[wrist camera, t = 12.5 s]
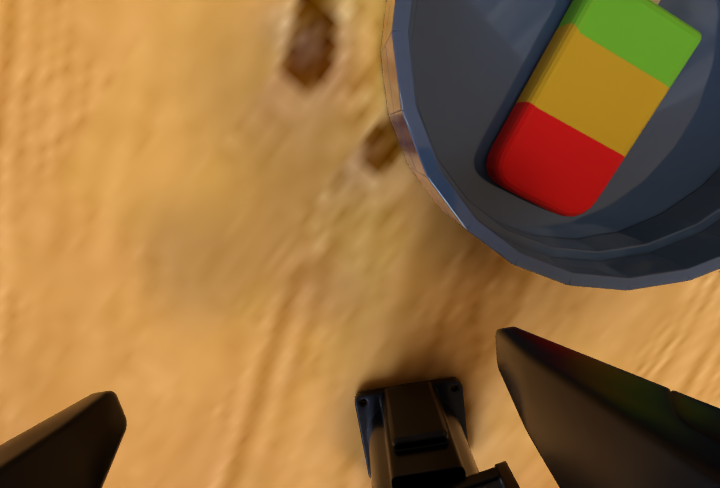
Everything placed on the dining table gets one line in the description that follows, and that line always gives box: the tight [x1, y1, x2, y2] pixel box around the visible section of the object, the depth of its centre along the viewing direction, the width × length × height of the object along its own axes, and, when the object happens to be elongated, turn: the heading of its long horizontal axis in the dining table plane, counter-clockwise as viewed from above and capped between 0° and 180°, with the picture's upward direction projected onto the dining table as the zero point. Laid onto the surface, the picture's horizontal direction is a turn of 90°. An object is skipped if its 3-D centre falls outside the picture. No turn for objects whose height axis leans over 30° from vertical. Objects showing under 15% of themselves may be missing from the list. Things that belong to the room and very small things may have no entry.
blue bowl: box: [381, 0, 720, 290], centre depth 16 cm, size 20×20×5 cm
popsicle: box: [486, 0, 702, 217], centre depth 17 cm, size 6×15×2 cm, turn 154°
